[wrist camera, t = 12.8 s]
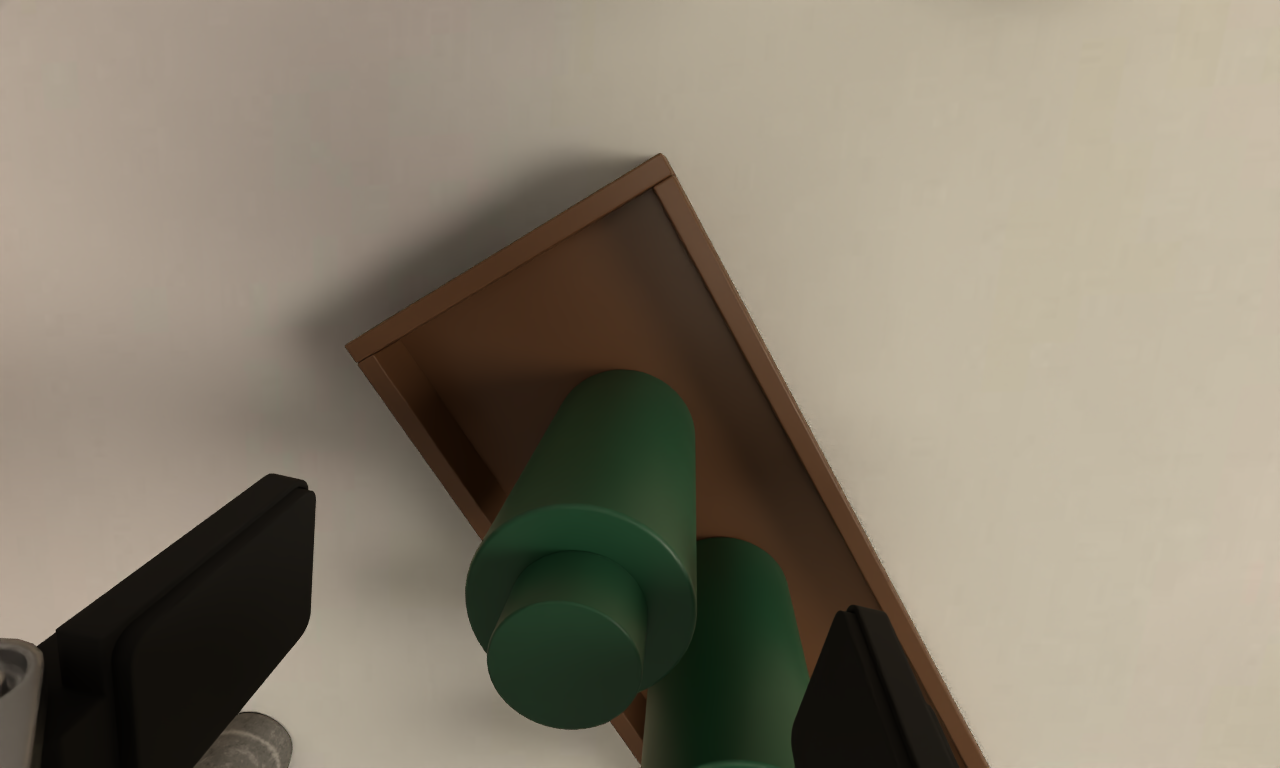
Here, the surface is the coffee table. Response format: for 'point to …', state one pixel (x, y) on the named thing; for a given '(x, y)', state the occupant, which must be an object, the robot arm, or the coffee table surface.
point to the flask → (249, 745)
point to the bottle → (592, 556)
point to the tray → (656, 345)
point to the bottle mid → (731, 669)
